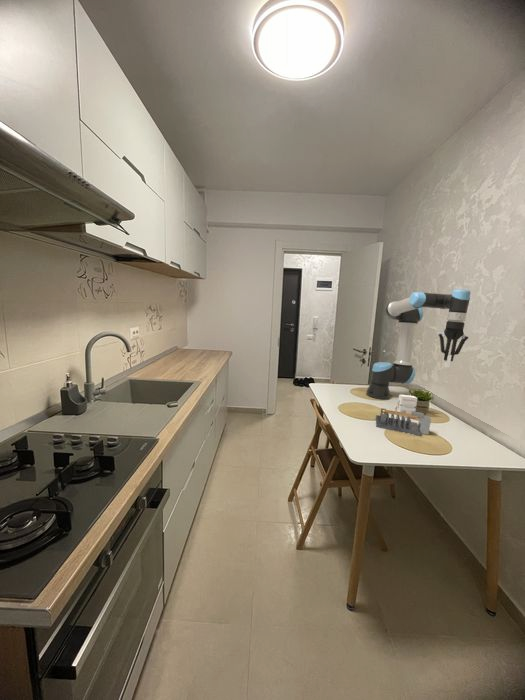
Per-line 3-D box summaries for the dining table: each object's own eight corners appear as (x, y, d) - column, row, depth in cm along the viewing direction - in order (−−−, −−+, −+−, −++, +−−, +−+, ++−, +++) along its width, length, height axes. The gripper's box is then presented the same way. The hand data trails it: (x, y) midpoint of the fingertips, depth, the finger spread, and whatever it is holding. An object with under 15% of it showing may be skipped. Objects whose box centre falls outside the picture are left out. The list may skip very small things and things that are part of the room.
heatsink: (375, 418, 154) (377, 406, 153) (416, 426, 147) (418, 414, 146) (376, 426, 143) (378, 413, 142) (420, 436, 136) (422, 422, 135)
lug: (408, 427, 145) (411, 410, 144) (426, 430, 143) (429, 413, 141) (410, 431, 141) (413, 413, 139) (428, 434, 138) (431, 417, 136)
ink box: (410, 414, 164) (414, 395, 162) (414, 418, 159) (418, 398, 157) (395, 413, 164) (398, 393, 162) (398, 416, 159) (402, 396, 157)
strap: (382, 411, 148) (382, 408, 148) (416, 416, 143) (417, 413, 143) (382, 413, 145) (382, 410, 145) (417, 419, 139) (418, 416, 139)
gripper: (442, 320, 139) (433, 366, 144) (473, 322, 135) (463, 370, 139) (439, 319, 146) (431, 363, 150) (468, 322, 142) (459, 367, 146)
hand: (446, 367), depth 145 cm, fingers closed
